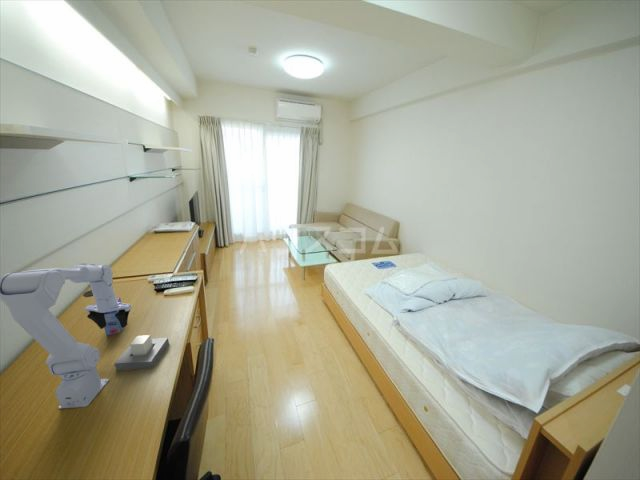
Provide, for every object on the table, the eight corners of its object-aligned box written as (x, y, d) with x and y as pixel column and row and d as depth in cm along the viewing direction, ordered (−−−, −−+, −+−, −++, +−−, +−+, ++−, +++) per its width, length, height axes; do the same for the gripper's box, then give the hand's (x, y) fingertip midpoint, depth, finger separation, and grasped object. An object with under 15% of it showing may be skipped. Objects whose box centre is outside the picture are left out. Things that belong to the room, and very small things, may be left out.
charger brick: (147, 358, 90) (143, 343, 88) (134, 359, 89) (129, 344, 87) (154, 349, 94) (150, 334, 92) (141, 350, 94) (137, 335, 92)
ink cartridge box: (122, 332, 104) (114, 303, 99) (106, 336, 101) (96, 306, 97) (126, 319, 112) (118, 291, 108) (111, 323, 110) (102, 295, 105)
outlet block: (152, 368, 87) (150, 361, 86) (116, 370, 86) (114, 363, 85) (169, 343, 98) (167, 337, 97) (137, 345, 97) (135, 338, 96)
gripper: (132, 289, 93) (140, 319, 98) (92, 290, 92) (101, 320, 96) (120, 299, 87) (129, 331, 91) (76, 301, 85) (87, 332, 90)
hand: (114, 326), depth 93 cm, fingers open, 7 cm apart
